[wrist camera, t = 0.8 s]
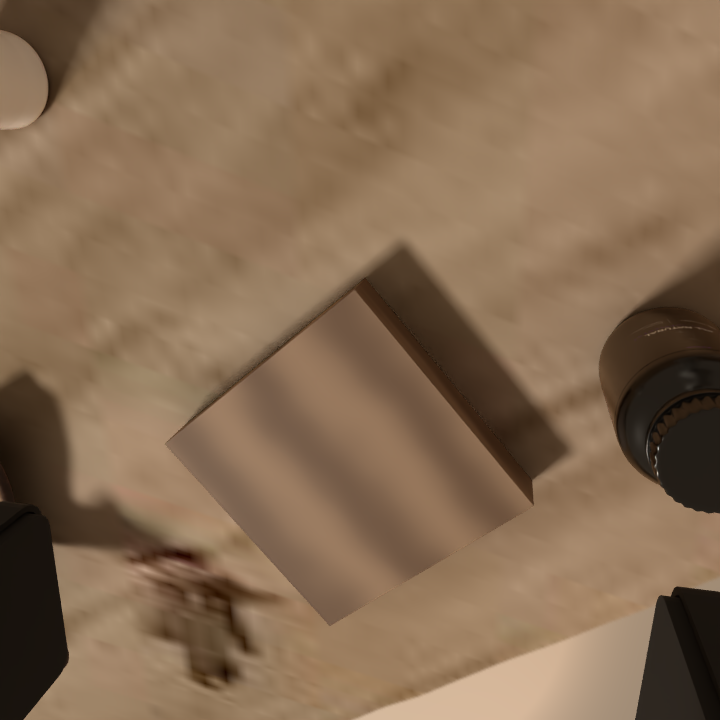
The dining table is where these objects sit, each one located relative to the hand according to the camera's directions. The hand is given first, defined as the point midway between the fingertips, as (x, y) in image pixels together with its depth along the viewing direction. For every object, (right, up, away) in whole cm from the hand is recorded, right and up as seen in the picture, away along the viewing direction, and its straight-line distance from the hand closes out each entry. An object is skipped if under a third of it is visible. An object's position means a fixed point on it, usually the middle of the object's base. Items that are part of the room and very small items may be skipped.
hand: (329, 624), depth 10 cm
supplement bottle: (+17, +4, +28) cm, 33 cm away
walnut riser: (0, -2, +34) cm, 34 cm away
